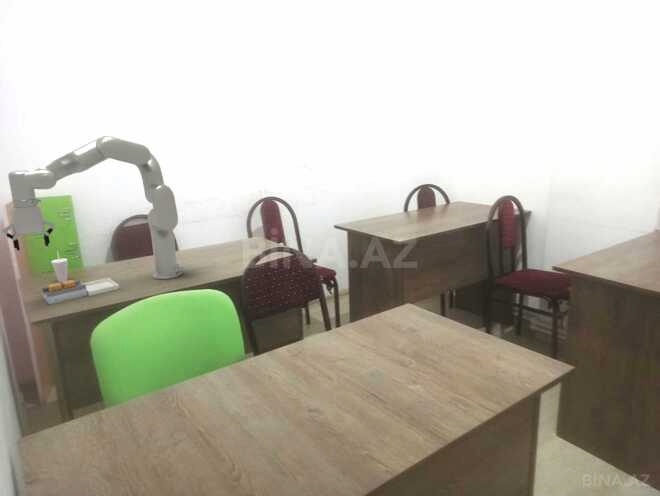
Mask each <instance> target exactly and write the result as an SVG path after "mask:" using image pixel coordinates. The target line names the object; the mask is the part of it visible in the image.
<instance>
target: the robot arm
mask: <svg viewBox="0 0 660 496" xmlns="http://www.w3.org/2000/svg"><path fill="white" fill-rule="evenodd" d="M109 159H112V160H115V161H119V162H121V163H122V162H123V163H127V164H131V165H134V166H136V168H137V169H138V170H139V172H140V176H141V181H142V184H143V191H144V196H145V199H146V201H147V202H148V203H150V204H152V208H151V209H150V210H149V211H148V214H147V224H148V228H149V231H150V236H151V244H152V252H153V260H154V269H155V272H154V273H152V277H153V279H155V280H168V279H175V278H177V277H180V276H181V275H182V273H186V272H187V268H186V266H180V263H178V261H177V252H176V246H175V245H176V244H175V243H176V242H175V235H174V229H175V228H176V227H177V226H178V224H179V217H178V215H179V214H178V209H177V204H176V199H175V198H176V197H175V195H174V192H173V190H172V189H171V188H170V186H168V185H167V184H165V182H164V178H163V177H164V176H163V173H162V169H161V165H160V163H159V162H158V160H157V158H156V157H155V156H154V155H153V154H152V153H151V151H150V149H149V148H148V147H147V146H145V145H144V144H140V143H136V142H133V141H128V140H125V139H121V138H117V137H115V136H110V135H109V136H101V137H98V138H95V140H92V141H90V142H88V143H86V144H84V145H81V146H80V147H78V148H77V149H74V150H72V151H70V152H68V153H66V154H65V155H63V156H61V157H58V158H56V159H55V160H52V161H50V162H48V163H46V164H44V165H42V166H41V167H40V166H39V167H38V168H37V169H35V170H34V171H29V170H15V171H14V170H13V171H10V172H9V173H8V175H7V177H8V182H9V187H10V194H11V199H12V204H13V208H12V207H11V210H10V211H11V215H10V216H11V222H12V223H11V224H9V225H7V226H6V227H4V228H3V229H2V233H3V234H5V236H7V238H9V239H10V240H12V243H13V248H14V249H16V250H17V251H20V243H19V240H18V238H19V236H21V235H28V234H36V233H37V234H38V233H42V234H43V240H44V245H45V246H46V247H49V244H50V242H51V241H50V235H51V234H52V232H53V231H54V229H55V226H56V223H53V222H51V221H48V220H46V219H44V217H43V216H44V215H43V214H42V210H41V208H40V205H38V204H41V203H42V201H41V199H37V197H36V192H35V190H49V189H52V188H54V187H55V186H56V185H57V182H59V181H60V180H62V179H64V178H66V177H68V176H70V175H73V174H74V175H75V174H79V173H83V172H85V171H87V170H89V169H91V168H93V167H95V166H96V165H99V164H101V163H102V162H105V161H106V160H109ZM45 225H46V226H49V228H48V229H47V230H46V226H45ZM10 230H13V235H12V234H11V233H9V231H10Z"/></svg>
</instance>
